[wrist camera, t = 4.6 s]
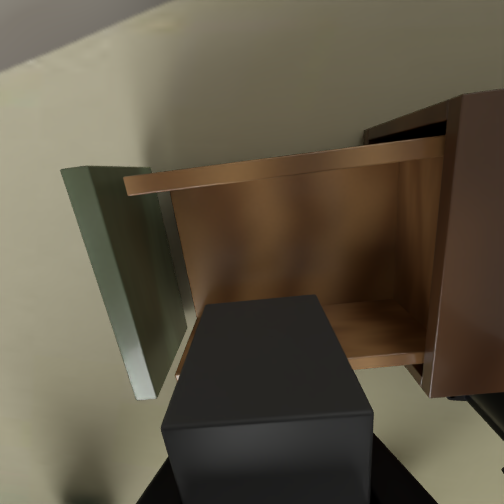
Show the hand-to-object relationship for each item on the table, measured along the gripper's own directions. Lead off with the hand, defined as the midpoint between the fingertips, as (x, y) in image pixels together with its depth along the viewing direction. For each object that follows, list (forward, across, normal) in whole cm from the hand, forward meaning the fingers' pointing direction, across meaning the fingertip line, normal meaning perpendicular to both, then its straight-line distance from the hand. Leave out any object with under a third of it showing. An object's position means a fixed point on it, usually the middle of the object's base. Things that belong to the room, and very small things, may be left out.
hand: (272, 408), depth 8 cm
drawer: (+11, -1, -2) cm, 12 cm away
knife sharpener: (+1, 0, 0) cm, 1 cm away
